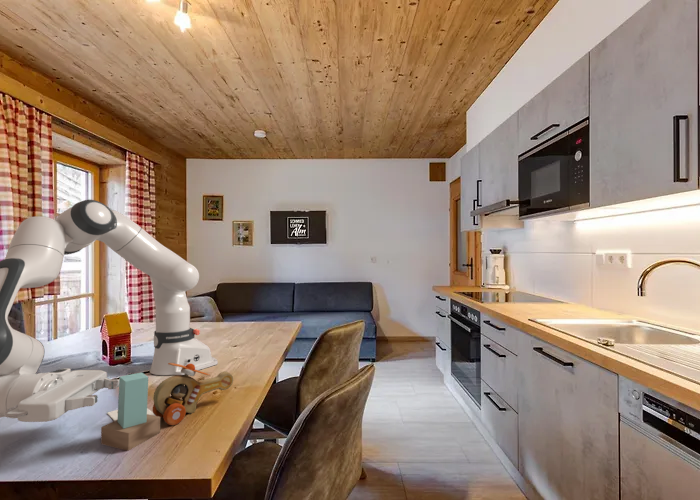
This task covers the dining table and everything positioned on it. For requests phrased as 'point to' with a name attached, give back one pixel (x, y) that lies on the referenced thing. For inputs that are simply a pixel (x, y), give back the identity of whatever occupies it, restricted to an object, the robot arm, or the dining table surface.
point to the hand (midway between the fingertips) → (107, 391)
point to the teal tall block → (132, 400)
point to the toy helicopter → (185, 393)
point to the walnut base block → (129, 433)
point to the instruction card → (115, 414)
